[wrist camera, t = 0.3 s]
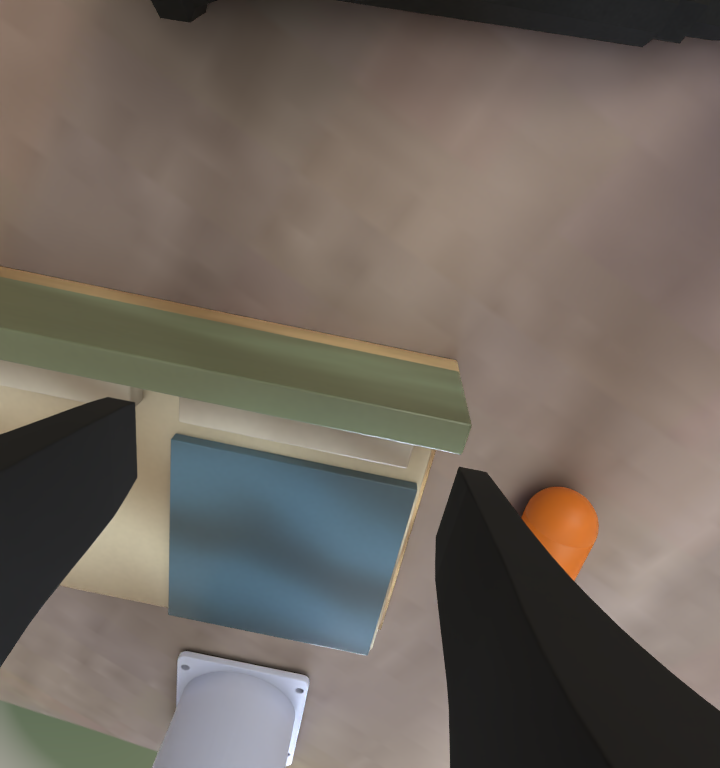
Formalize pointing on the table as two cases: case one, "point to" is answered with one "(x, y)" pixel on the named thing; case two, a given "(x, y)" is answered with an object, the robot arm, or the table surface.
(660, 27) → the microphone
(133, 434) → the robot arm
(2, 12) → the table surface
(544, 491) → the orange capsule container
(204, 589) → the bed
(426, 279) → the table surface
